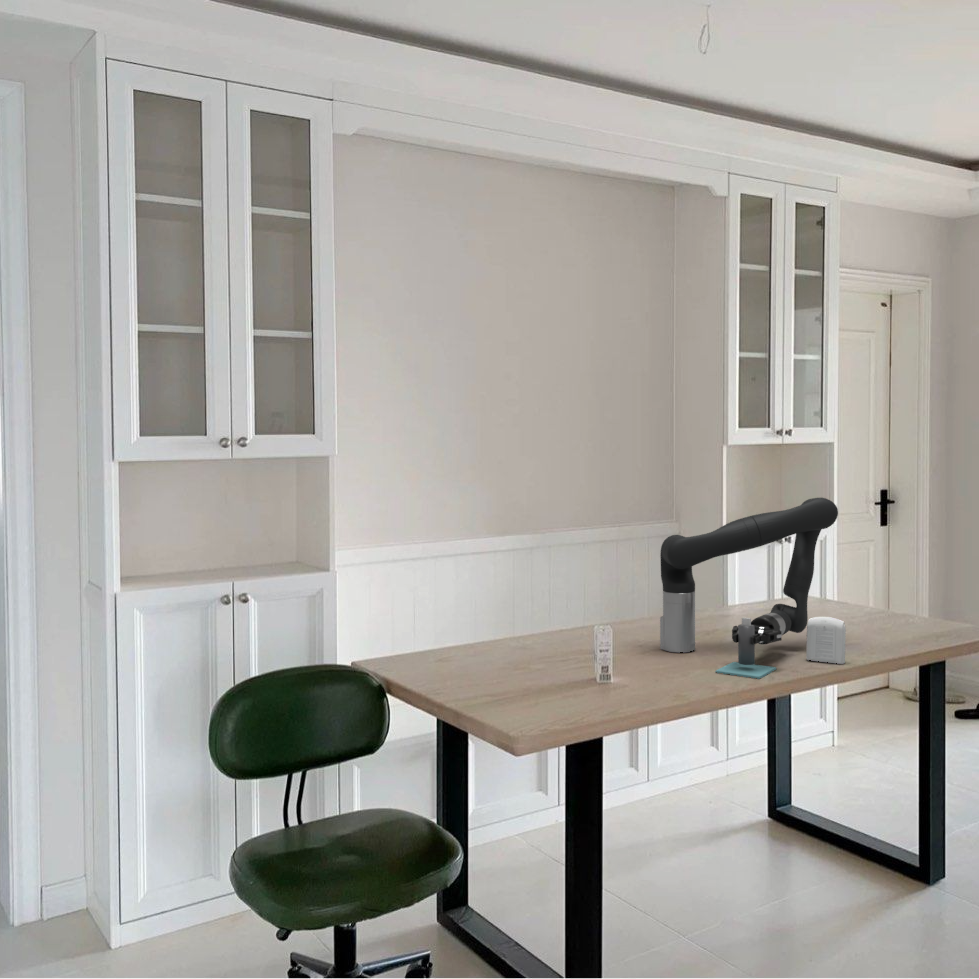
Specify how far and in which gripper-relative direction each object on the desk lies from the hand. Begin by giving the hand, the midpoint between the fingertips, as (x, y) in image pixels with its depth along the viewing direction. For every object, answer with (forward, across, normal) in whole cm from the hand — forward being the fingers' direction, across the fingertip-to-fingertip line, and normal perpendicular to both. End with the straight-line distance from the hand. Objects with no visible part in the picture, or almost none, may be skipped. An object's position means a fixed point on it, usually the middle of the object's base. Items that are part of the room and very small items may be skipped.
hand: (743, 639), depth 270 cm
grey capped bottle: (-2, 0, +7) cm, 7 cm away
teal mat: (-2, 0, +9) cm, 9 cm away
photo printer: (-24, +14, +9) cm, 29 cm away
